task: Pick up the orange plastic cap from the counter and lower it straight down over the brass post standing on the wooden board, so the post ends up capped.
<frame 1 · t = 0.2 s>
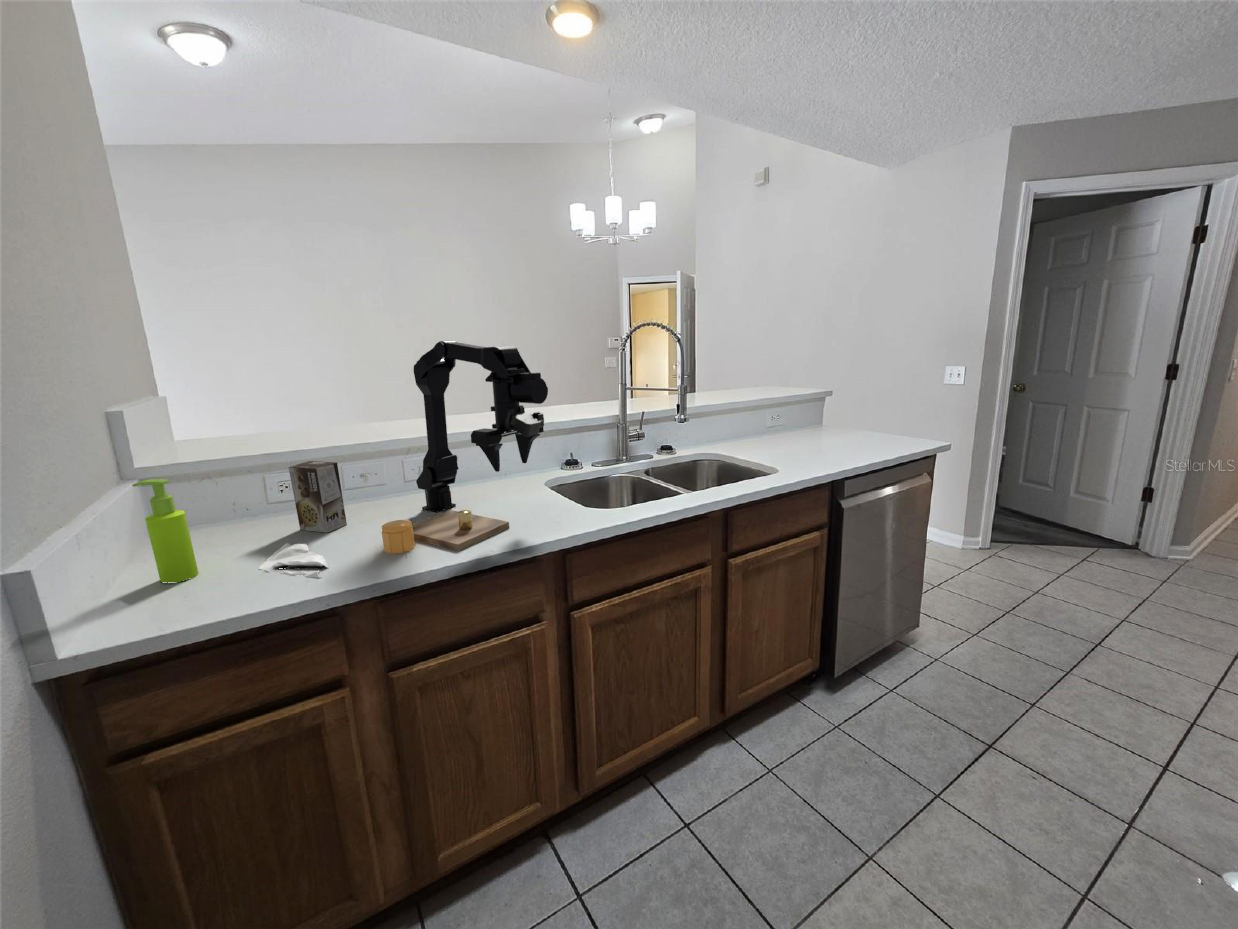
hand: (511, 467, 127), 15 cm above the worktop, tool pointing down, fingers open, 9 cm apart
cloth: (296, 564, 113), on the worktop
coffee box: (323, 528, 133), on the worktop
cap: (399, 548, 118), on the worktop
post: (466, 534, 125), resting on wooden board
soap dispenser: (177, 578, 106), on the worktop
wooden board: (454, 531, 127), on the worktop
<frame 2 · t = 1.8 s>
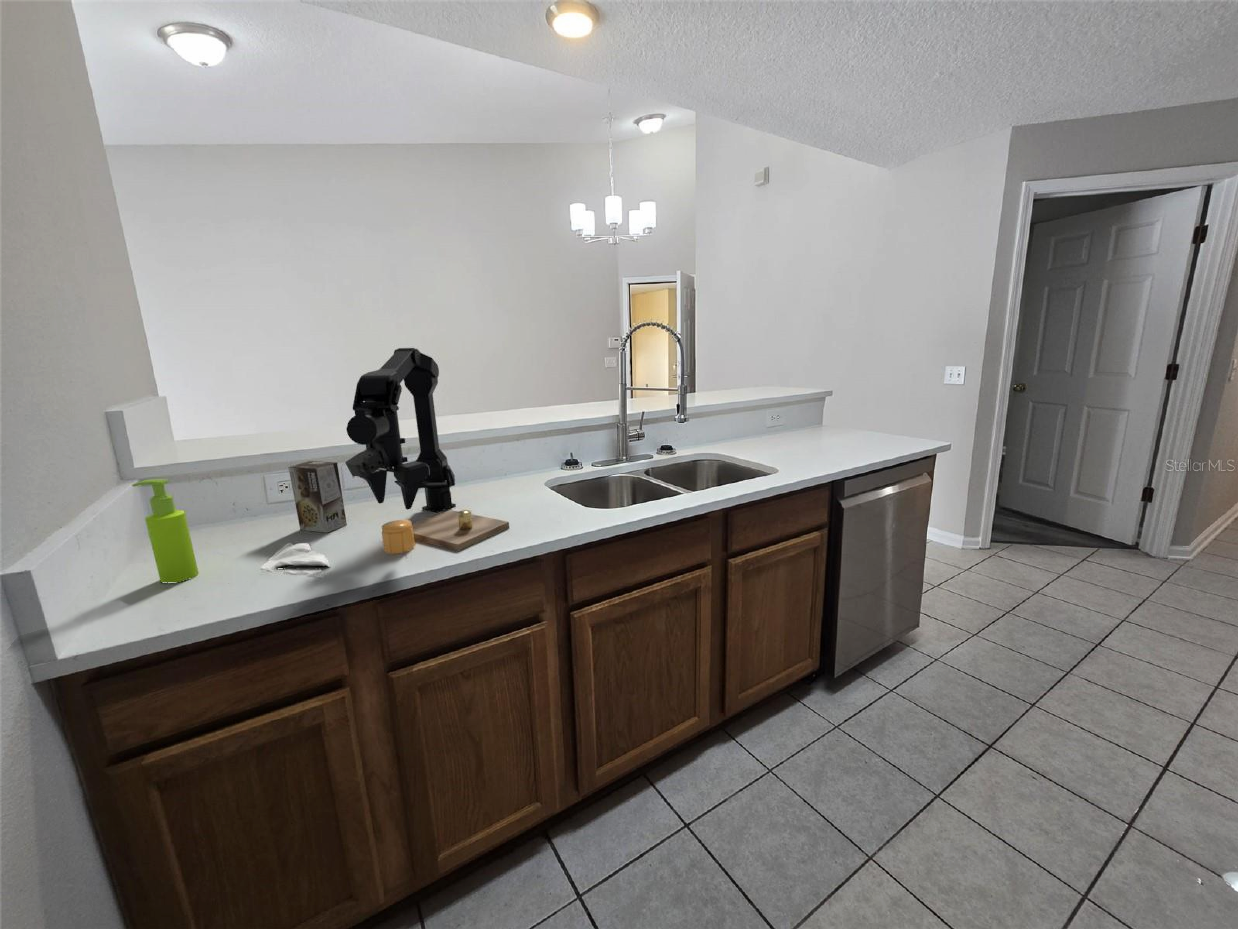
hand: (394, 505, 116), 10 cm above the worktop, tool pointing down, fingers open, 9 cm apart
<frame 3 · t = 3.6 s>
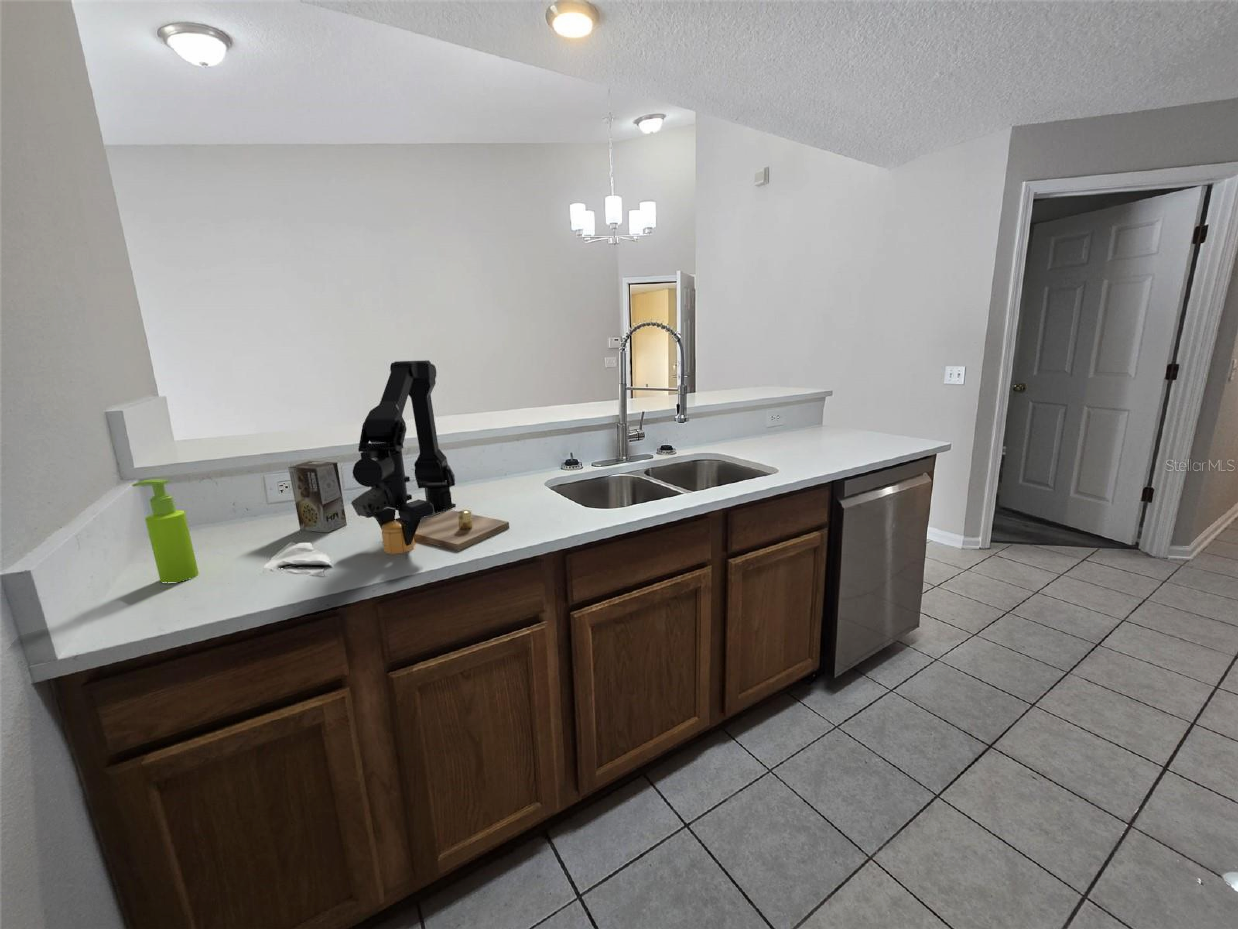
hand: (399, 542, 118), 1 cm above the worktop, tool pointing down, fingers closed on cap, 6 cm apart
cap: (399, 548, 118), on the worktop, touching gripper
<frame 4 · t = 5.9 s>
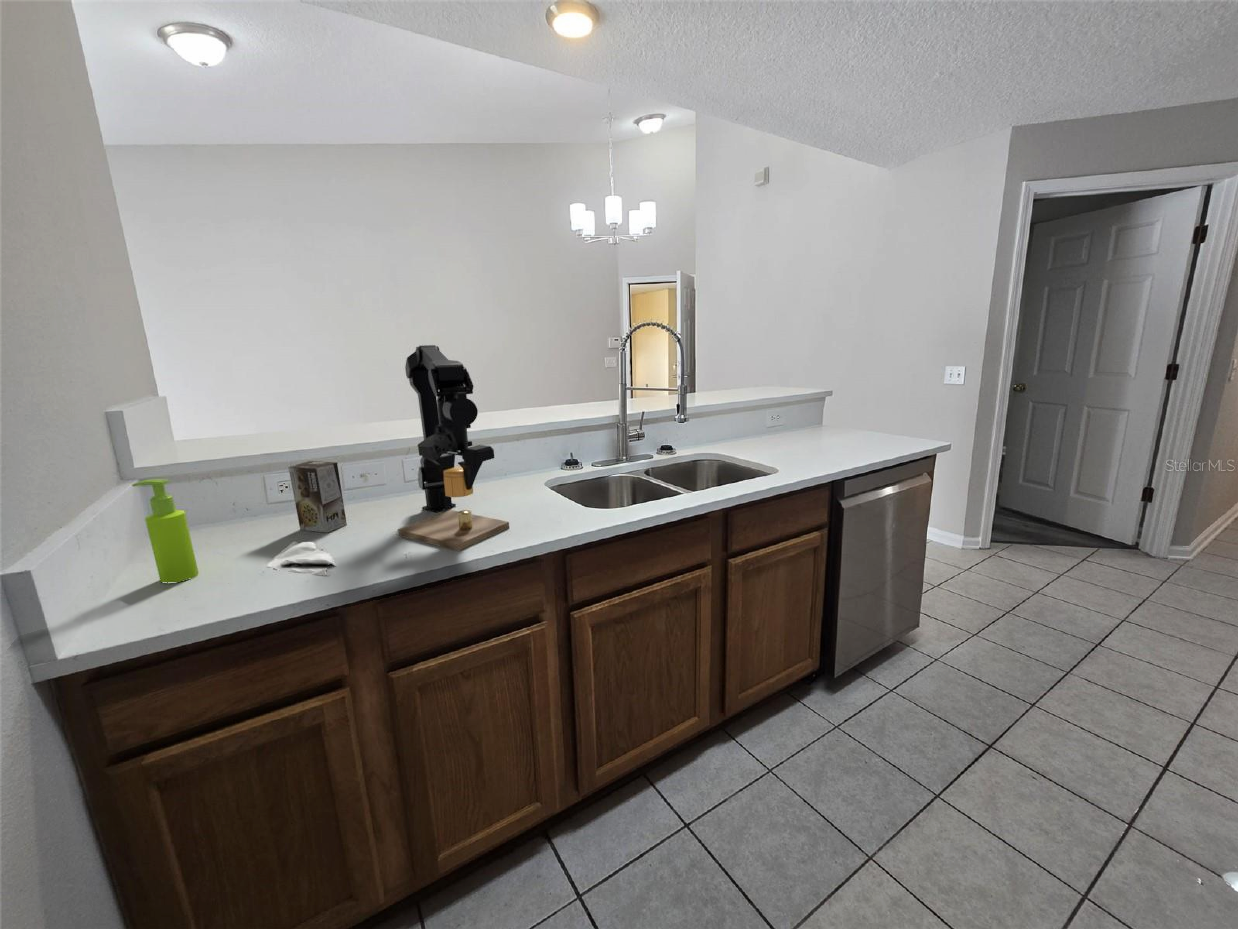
hand: (459, 487, 122), 11 cm above the worktop, tool pointing down, fingers closed on cap, 6 cm apart
cap: (459, 493, 122), point 10 cm above the worktop, touching gripper
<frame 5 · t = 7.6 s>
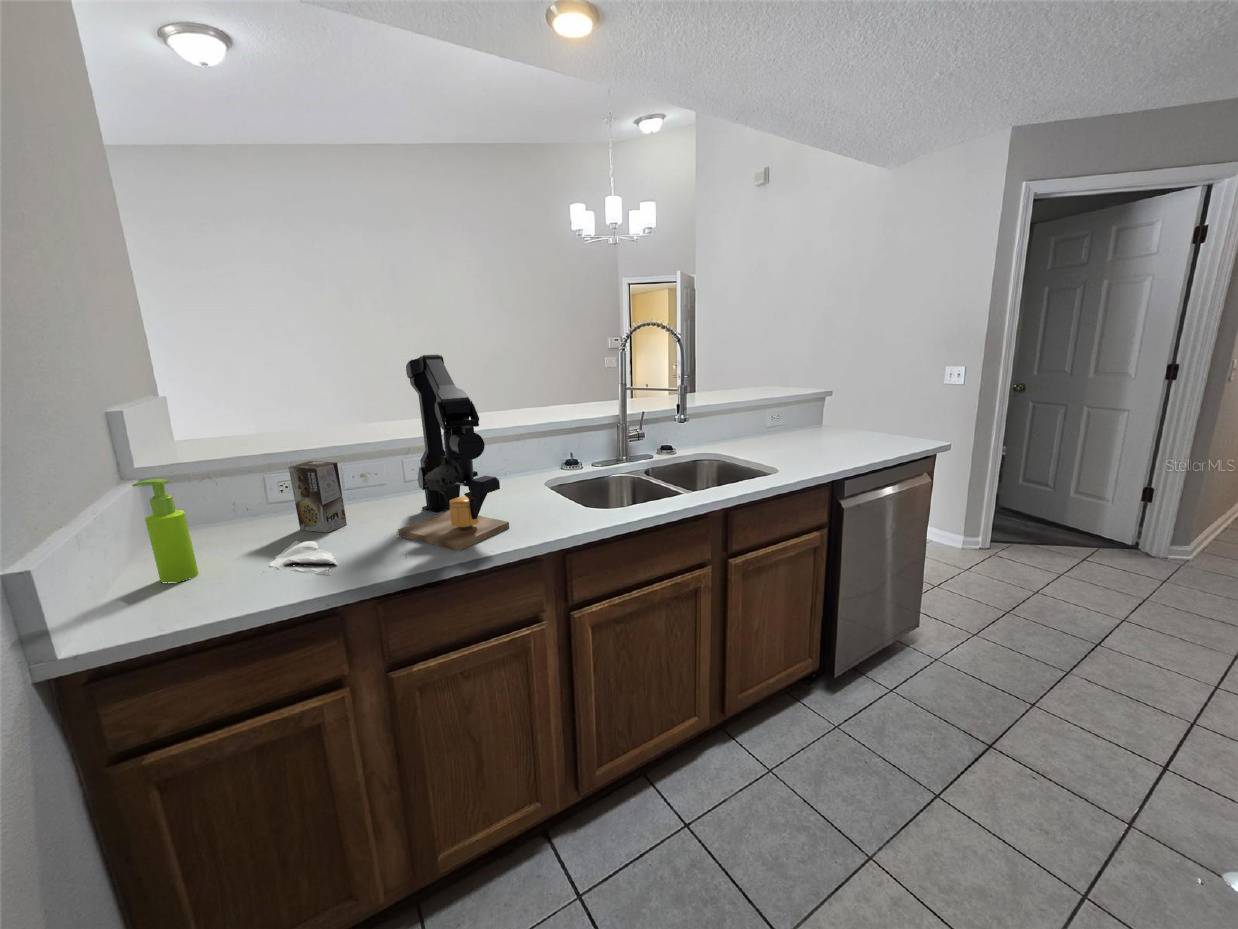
hand: (464, 517, 124), 4 cm above the worktop, tool pointing down, fingers closed on cap, 6 cm apart
cap: (465, 522, 125), point 3 cm above the worktop, touching gripper
when the fingers open (4 cm above the worktop, at t = 8.6 s): cap stays where it is, resting on wooden board.
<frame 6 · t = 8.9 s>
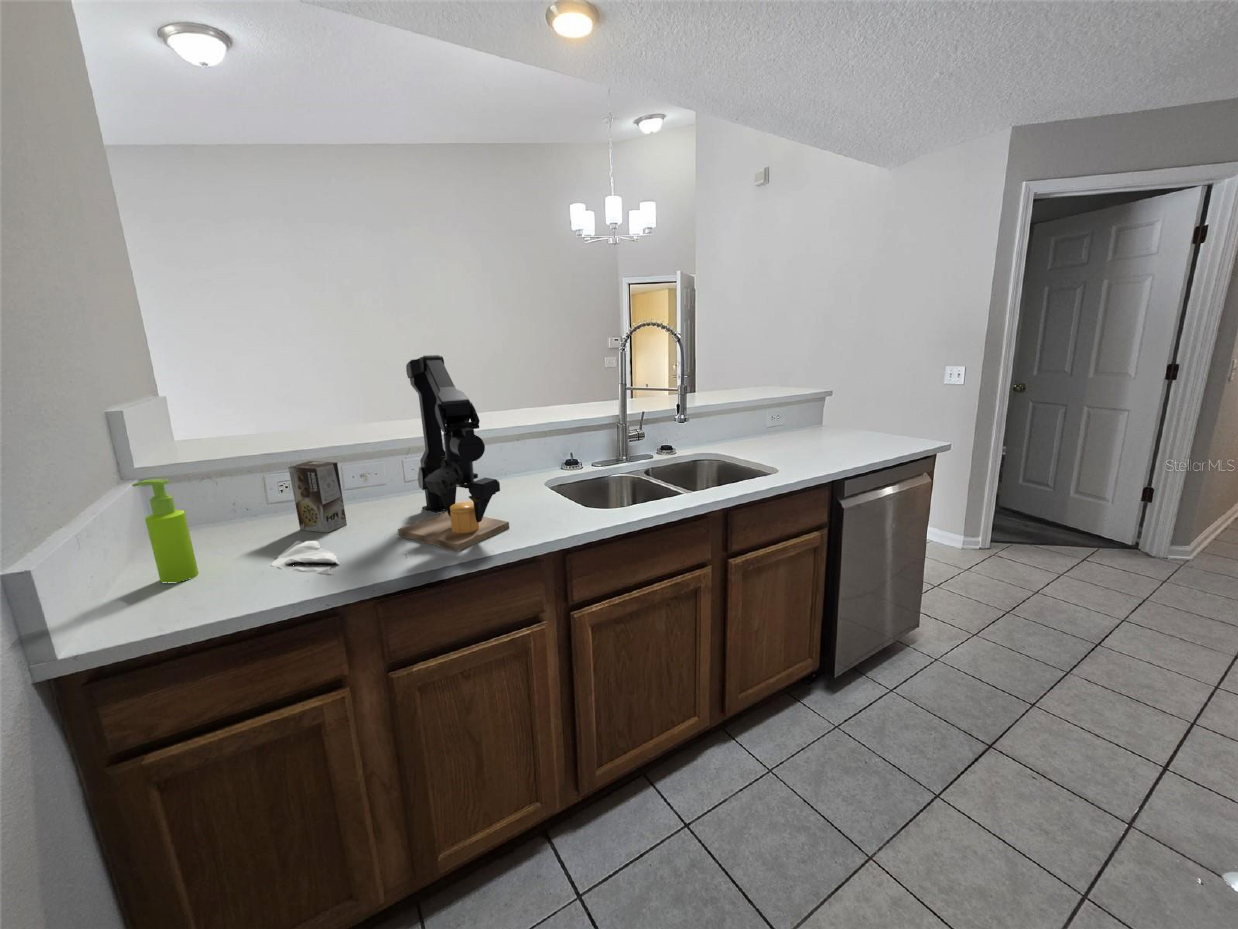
hand: (465, 518, 124), 4 cm above the worktop, tool pointing down, fingers open, 9 cm apart
cap: (465, 528, 125), point 1 cm above the worktop, touching wooden board
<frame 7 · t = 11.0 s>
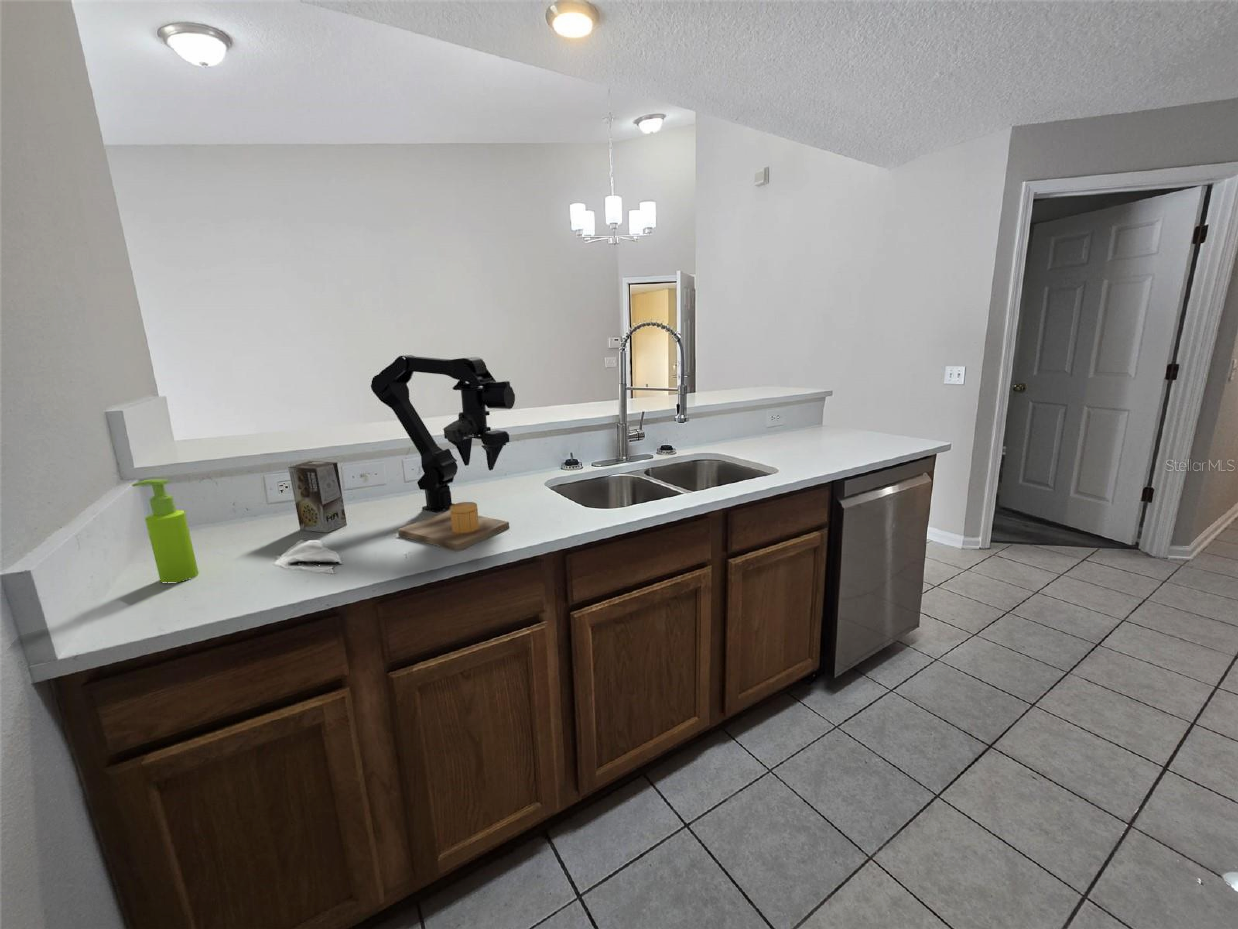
hand: (478, 467, 139), 12 cm above the worktop, tool pointing down, fingers open, 9 cm apart
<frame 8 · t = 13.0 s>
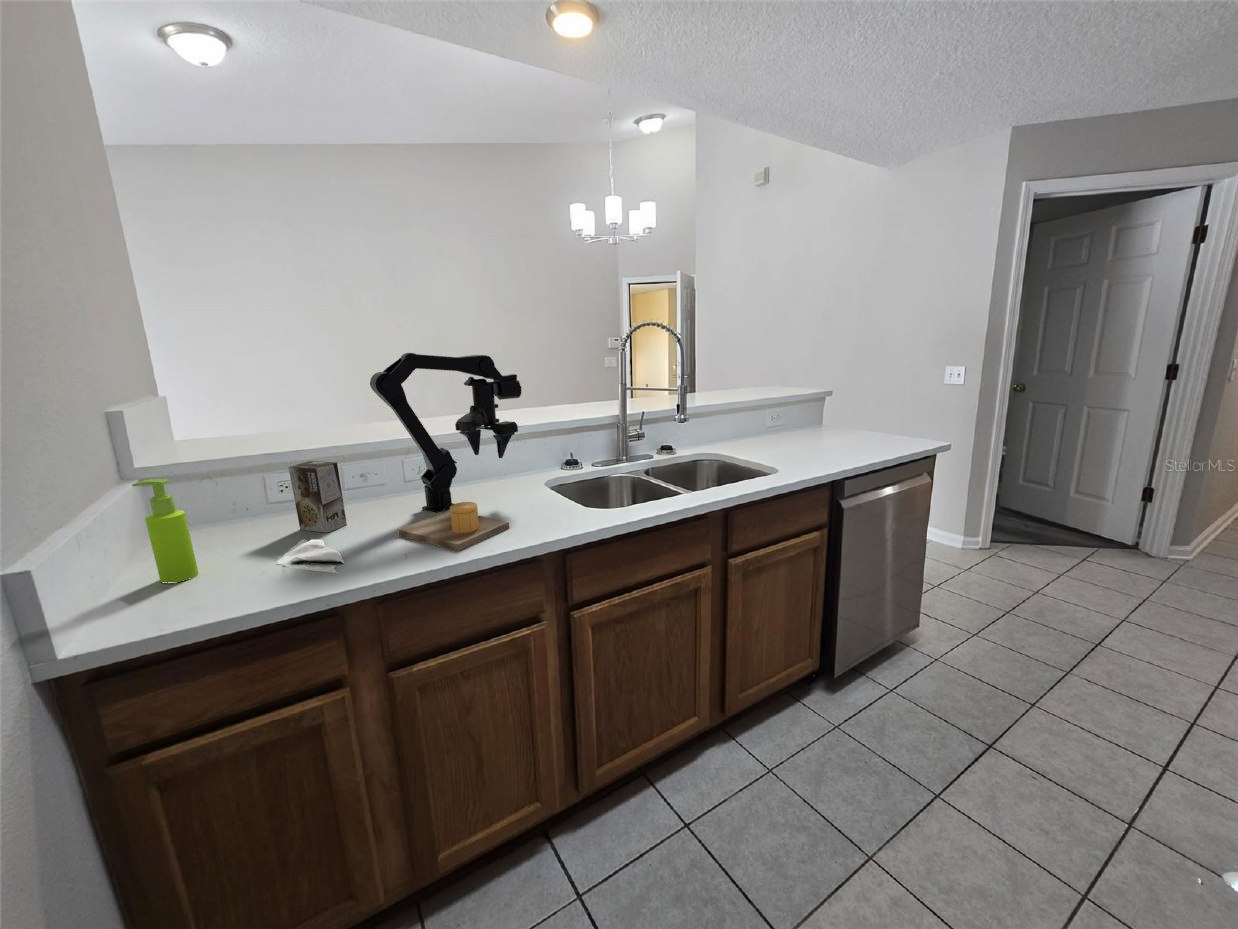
hand: (488, 456, 151), 12 cm above the worktop, tool pointing down, fingers open, 9 cm apart
at the end: cap 0.1 cm from the target spot on the wooden board, point 1.5 cm above the wooden board's base; cap tilted 0°; the gripper is holding nothing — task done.
